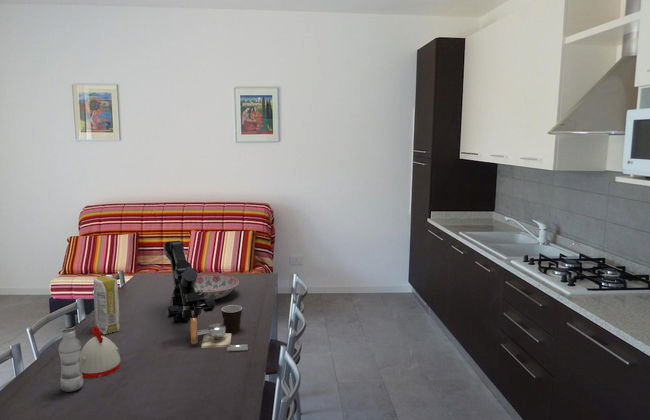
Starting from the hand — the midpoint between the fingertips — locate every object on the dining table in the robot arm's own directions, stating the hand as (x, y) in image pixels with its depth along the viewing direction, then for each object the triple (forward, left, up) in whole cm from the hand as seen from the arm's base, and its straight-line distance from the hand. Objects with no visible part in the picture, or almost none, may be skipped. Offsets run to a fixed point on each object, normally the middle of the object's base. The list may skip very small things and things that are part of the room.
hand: (195, 327), depth 186 cm
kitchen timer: (-31, -16, -7) cm, 36 cm away
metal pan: (+5, 0, -5) cm, 7 cm away
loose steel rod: (+17, -8, -7) cm, 20 cm away
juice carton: (-38, +18, -7) cm, 43 cm away
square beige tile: (+8, +1, -7) cm, 11 cm away
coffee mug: (+14, +13, -7) cm, 21 cm away
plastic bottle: (-35, -30, -7) cm, 47 cm away
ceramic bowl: (+1, +57, -7) cm, 57 cm away
